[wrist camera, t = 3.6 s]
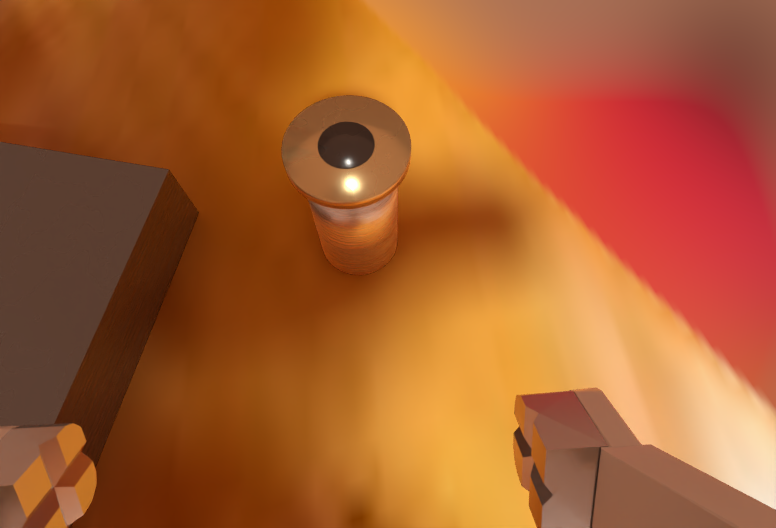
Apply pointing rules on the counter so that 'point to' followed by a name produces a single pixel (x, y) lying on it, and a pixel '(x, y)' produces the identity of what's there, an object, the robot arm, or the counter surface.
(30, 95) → the counter surface
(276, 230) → the counter surface
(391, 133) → the bushing
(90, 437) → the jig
